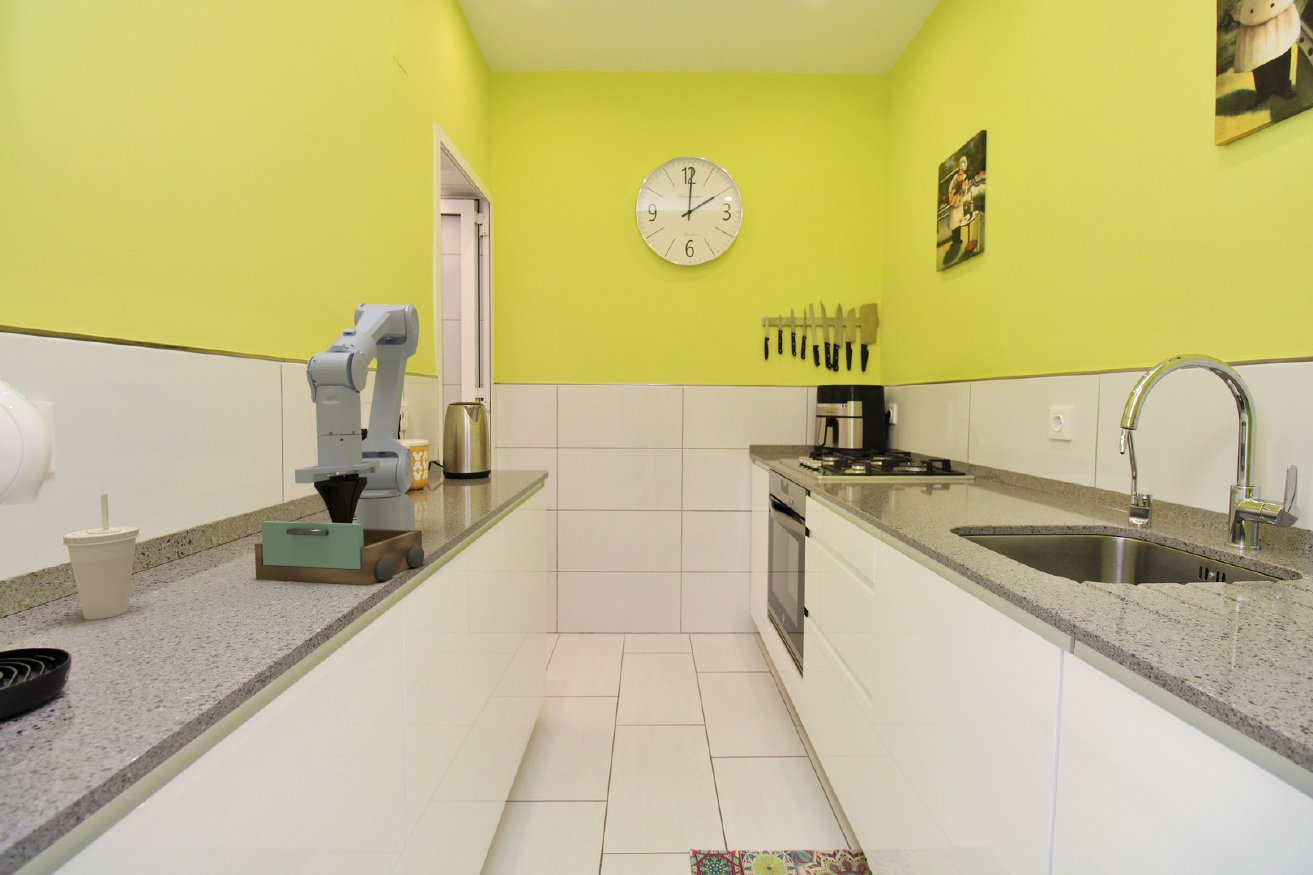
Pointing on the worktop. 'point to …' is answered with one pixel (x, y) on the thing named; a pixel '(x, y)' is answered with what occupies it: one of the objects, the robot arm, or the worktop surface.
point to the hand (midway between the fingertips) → (342, 526)
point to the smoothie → (103, 566)
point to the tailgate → (312, 544)
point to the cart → (379, 560)
